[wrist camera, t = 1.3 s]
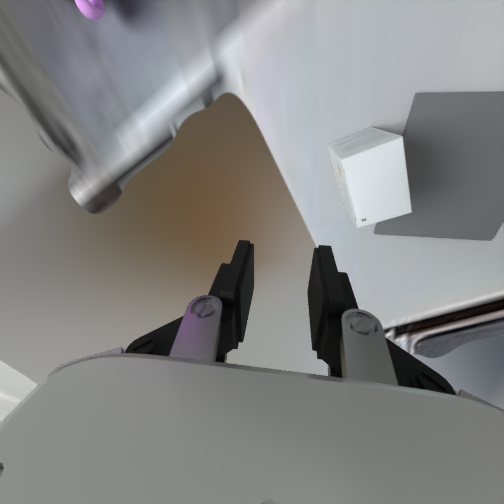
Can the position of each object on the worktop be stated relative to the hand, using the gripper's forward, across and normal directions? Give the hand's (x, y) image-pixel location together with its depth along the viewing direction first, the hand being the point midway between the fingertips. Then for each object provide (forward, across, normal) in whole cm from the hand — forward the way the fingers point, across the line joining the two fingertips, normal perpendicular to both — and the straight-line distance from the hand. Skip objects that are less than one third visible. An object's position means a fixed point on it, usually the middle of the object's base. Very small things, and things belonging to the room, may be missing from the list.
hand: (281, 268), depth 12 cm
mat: (+25, -22, +1) cm, 33 cm away
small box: (+26, -9, 0) cm, 27 cm away
